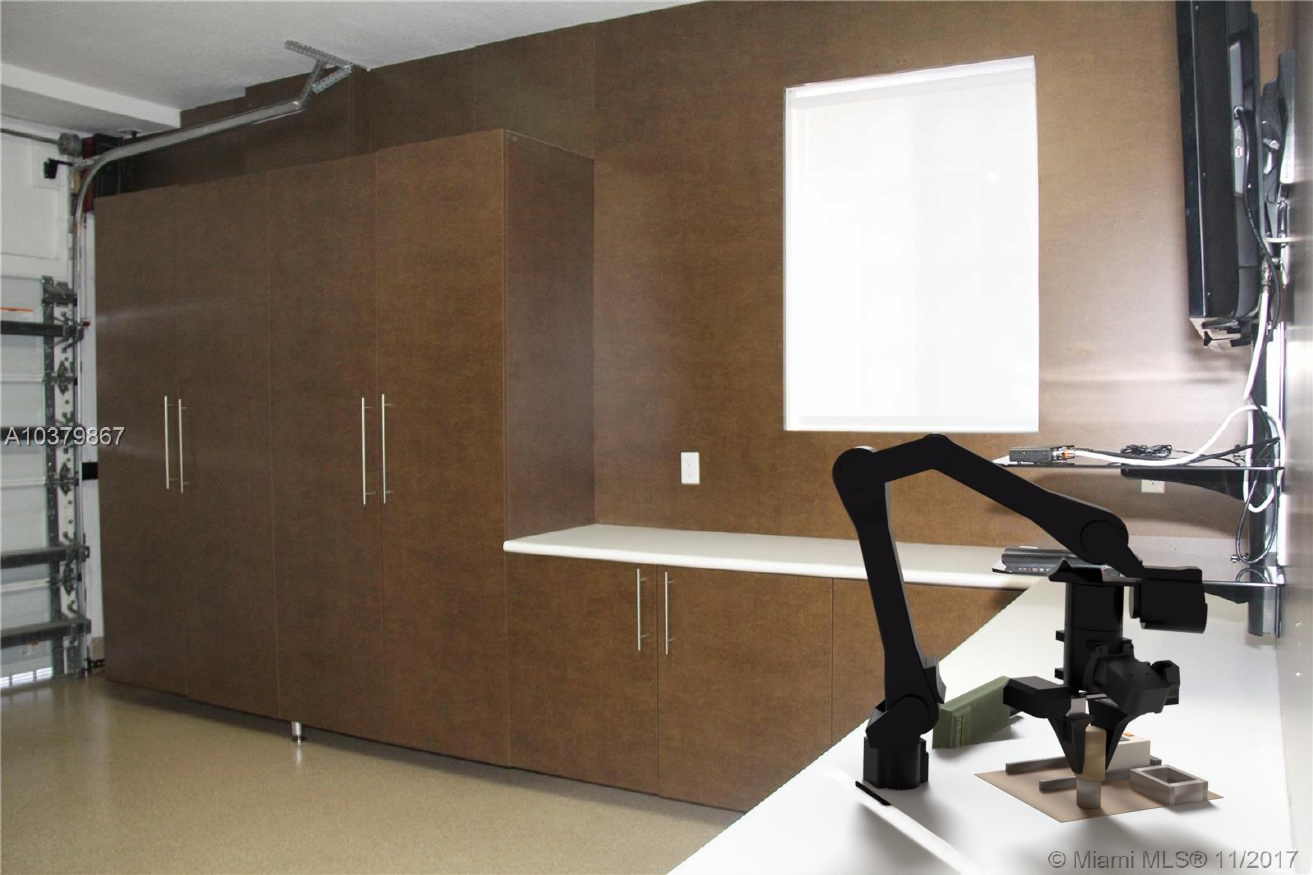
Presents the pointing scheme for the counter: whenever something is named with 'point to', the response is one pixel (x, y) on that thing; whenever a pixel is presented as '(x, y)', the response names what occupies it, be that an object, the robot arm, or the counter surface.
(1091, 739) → the tan rounded cylinder
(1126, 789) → the board
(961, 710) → the handheld radio
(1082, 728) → the robot arm
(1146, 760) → the box
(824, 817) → the counter surface
